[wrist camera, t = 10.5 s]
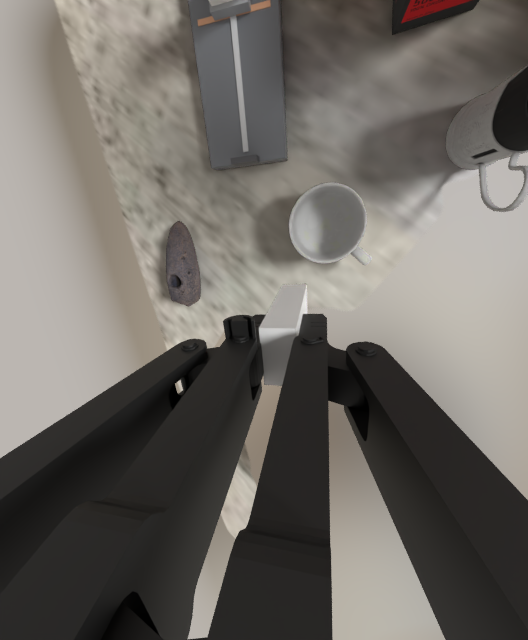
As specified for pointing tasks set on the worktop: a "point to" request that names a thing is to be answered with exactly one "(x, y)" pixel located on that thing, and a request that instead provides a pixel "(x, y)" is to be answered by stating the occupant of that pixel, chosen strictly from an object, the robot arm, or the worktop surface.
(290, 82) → the worktop surface
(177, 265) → the perforated stone tool
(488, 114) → the glass holder
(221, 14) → the fader knob
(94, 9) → the worktop surface
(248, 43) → the fader console
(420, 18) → the cleaning product box
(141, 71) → the worktop surface
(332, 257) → the teacup
